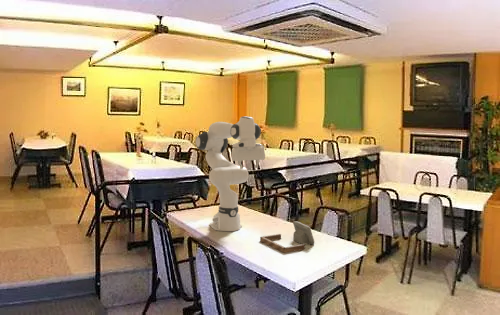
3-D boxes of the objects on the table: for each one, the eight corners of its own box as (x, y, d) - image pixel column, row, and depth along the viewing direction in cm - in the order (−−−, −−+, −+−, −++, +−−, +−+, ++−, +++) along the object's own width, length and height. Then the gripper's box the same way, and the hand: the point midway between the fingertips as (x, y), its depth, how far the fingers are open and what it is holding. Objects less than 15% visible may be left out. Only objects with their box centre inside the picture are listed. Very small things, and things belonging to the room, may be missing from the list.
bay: (260, 241, 257) (260, 236, 257) (279, 238, 264) (279, 233, 264) (284, 253, 237) (284, 248, 236) (304, 249, 244) (304, 244, 243)
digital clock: (315, 245, 251) (316, 226, 250) (300, 246, 249) (300, 227, 248) (304, 237, 267) (305, 219, 266) (290, 238, 265) (291, 220, 263)
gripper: (261, 144, 266) (262, 167, 266) (229, 145, 257) (230, 169, 257) (266, 143, 260) (267, 167, 260) (234, 144, 251) (235, 169, 251)
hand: (249, 168), depth 258 cm, fingers open, 8 cm apart
